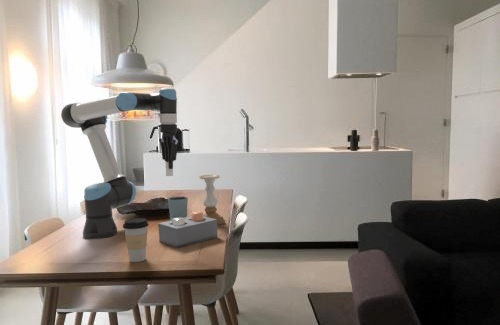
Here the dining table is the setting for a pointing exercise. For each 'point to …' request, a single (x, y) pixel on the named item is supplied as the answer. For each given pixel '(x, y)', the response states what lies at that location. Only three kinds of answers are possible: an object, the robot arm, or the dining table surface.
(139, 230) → the coffee cup
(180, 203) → the drinking glass
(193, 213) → the brown egg
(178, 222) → the silver rounded piece
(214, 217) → the candle holder
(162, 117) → the robot arm
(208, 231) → the block with square holes
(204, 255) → the dining table surface
